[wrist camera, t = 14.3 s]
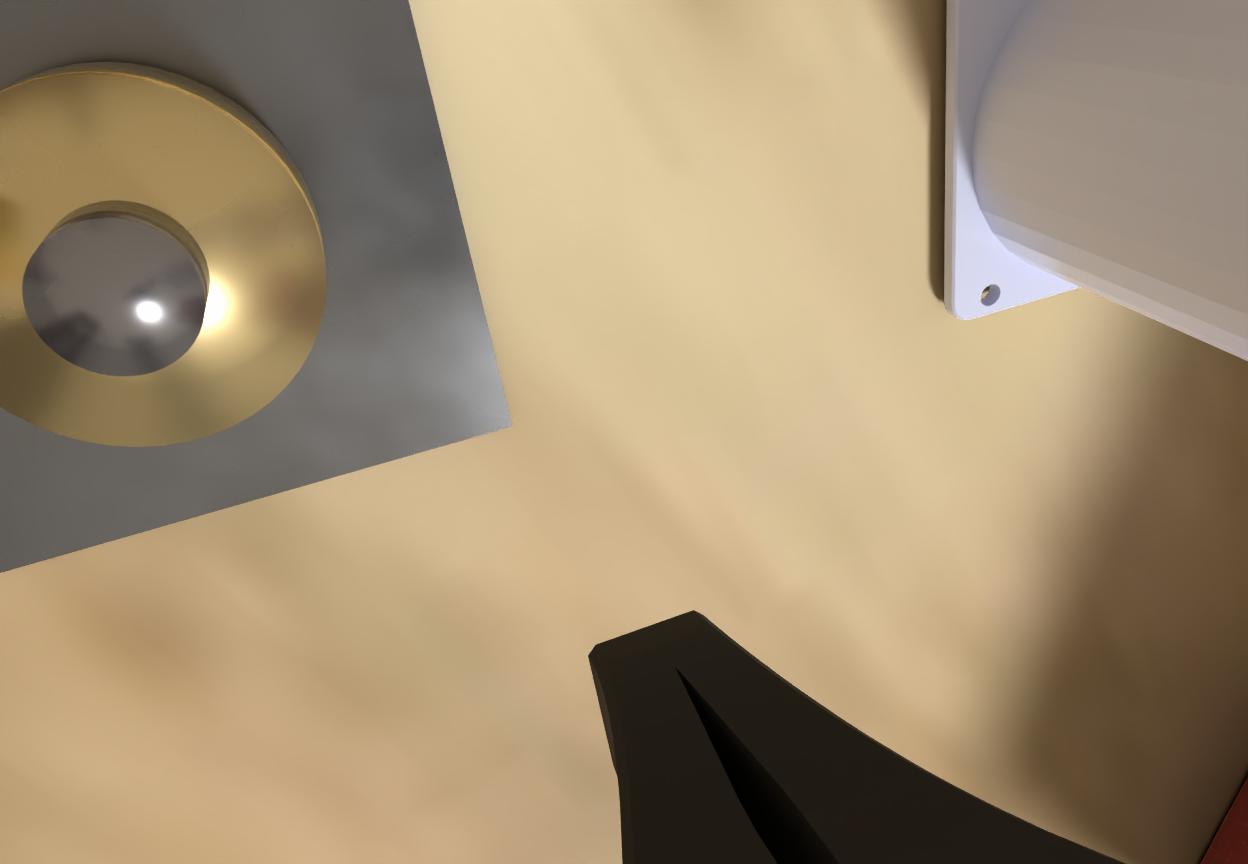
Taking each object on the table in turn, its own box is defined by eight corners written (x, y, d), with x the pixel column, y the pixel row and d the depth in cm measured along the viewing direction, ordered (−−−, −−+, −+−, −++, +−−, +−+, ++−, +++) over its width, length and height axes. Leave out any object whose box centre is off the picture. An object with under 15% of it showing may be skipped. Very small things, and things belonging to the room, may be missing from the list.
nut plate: (364, -173, 16) (365, -174, 15) (509, 419, 21) (512, 425, 21) (-422, -46, 14) (-436, -46, 13) (-36, 575, 19) (-40, 584, 19)
